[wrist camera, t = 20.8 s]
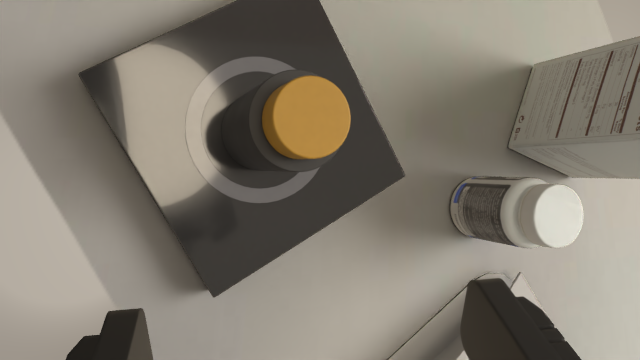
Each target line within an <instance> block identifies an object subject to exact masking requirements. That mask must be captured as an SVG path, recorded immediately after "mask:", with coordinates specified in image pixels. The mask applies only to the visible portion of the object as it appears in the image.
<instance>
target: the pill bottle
mask: <svg viewBox="0 0 640 360" xmlns="http://www.w3.org/2000/svg"><path fill="white" fill-rule="evenodd" d="M450 210H451V216H452V219H453V222H454V224H455V225H456V227H457V228H458V229H459V231H461V232H462V233H463V234H465V235H467V236H470V237H473V238H478V239H483V240H488V241H492V242H497V243H502V244H507V245H512V246H517V247H521V248H537V247H540V246H542V247H550V248H562V247H565V246H567V245H569V244H571V243H572V242H573V241H574V240H575V239H576V237H577V236H578V234H579V232H580V230H581V227H582V224H583V207H582V203H581V201H580V198H579V197H578V195H577V194H576V193H575V192H574V191H573V190H572V189H571V188H569V187H568V186H565V185H561V184H548V183H547V182H545V181H543V180H541V179H537V178H530V177H484V176H479V177H472V178H469V179H467V180H465V181H463V182H462V183H461V184H460V185H459V186H458V187H457V188H456V190H455V191H454V193H453V196H452V199H451V208H450Z"/></svg>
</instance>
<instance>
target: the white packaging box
mask: <svg viewBox="0 0 640 360" xmlns="http://www.w3.org/2000/svg"><path fill="white" fill-rule="evenodd" d="M508 147H509V148H510V149H512V150H514V151H517V152H519V153H521V154H523V155H525V156H527V157H529V158H531V159H533V160H536V161H538V162H540V163H542V164H544V165H546V166H549V167H551V168H553V169H555V170H557V171H559V172H562V173H564V174H566V175H568V176H570V177H572V178H625V179H640V36H639V37H635V38H631V39H627V40H623V41H619V42H616V43H612V44H608V45H604V46H601V47H597V48H593V49H589V50H586V51H582V52H578V53H574V54H571V55H567V56H563V57H559V58H556V59H552V60H548V61H545V62H541V63H537V64H535V65H534V67H533V69H532V72H531V75H530V78H529V81H528V84H527V87H526V90H525V93H524V96H523V100H522V103H521V106H520V109H519V112H518V115H517V118H516V122H515V125H514V128H513V131H512V135H511V138H510V141H509V145H508Z"/></svg>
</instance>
